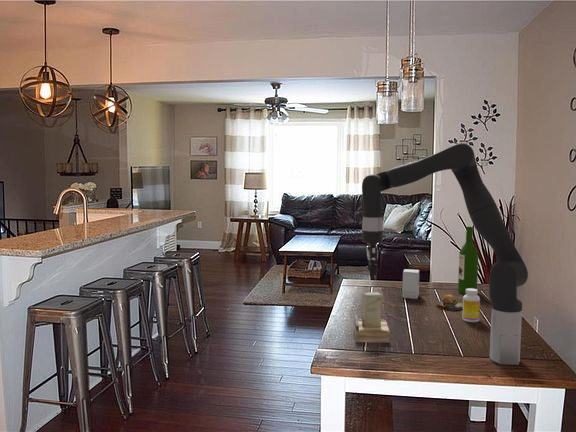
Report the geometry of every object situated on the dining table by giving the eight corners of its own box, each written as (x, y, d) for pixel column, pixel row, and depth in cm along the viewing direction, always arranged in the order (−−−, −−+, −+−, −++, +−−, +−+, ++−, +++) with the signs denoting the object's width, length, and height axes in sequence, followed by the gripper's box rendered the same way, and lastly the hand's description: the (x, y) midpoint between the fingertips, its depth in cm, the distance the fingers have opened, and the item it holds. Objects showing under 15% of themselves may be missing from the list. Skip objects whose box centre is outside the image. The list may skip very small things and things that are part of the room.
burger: (469, 309, 241) (470, 293, 240) (447, 312, 237) (448, 295, 236) (452, 302, 252) (452, 287, 251) (430, 305, 248) (431, 289, 247)
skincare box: (365, 327, 202) (365, 295, 200) (361, 324, 206) (362, 292, 205) (381, 326, 203) (382, 294, 201) (377, 323, 207) (378, 291, 206)
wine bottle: (454, 291, 273) (456, 226, 269) (469, 289, 275) (471, 225, 272) (465, 295, 264) (467, 228, 261) (480, 294, 267) (483, 227, 263)
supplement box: (417, 299, 258) (418, 272, 256) (401, 297, 260) (402, 271, 258) (419, 295, 265) (419, 269, 263) (403, 294, 267) (404, 268, 265)
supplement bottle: (480, 323, 220) (481, 291, 219) (463, 322, 221) (464, 291, 220) (478, 318, 227) (479, 288, 225) (461, 317, 228) (462, 287, 227)
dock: (389, 342, 197) (389, 326, 196) (355, 341, 198) (356, 325, 197) (385, 330, 211) (385, 315, 210) (354, 329, 212) (354, 314, 211)
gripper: (384, 231, 193) (384, 277, 195) (381, 226, 207) (380, 269, 209) (363, 231, 193) (362, 276, 195) (361, 226, 208) (360, 268, 209)
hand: (371, 272), depth 202 cm, fingers open, 8 cm apart
